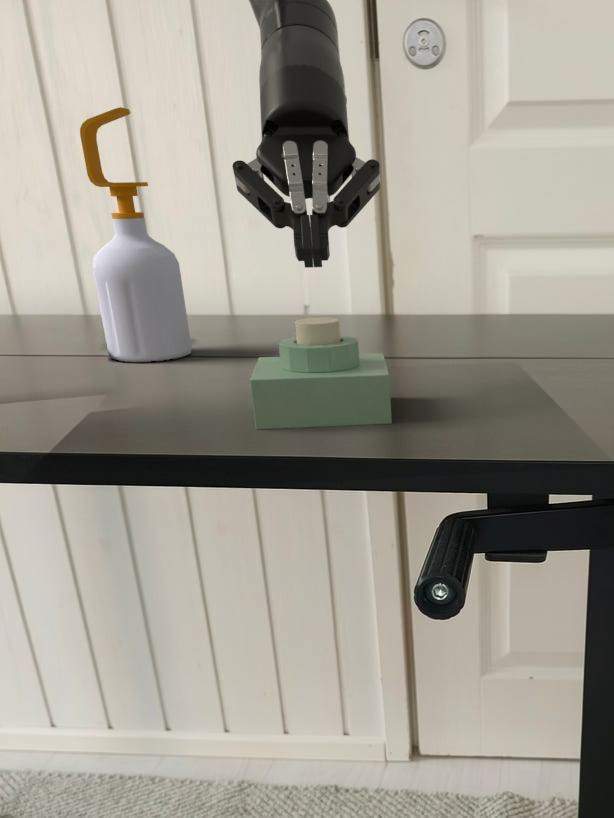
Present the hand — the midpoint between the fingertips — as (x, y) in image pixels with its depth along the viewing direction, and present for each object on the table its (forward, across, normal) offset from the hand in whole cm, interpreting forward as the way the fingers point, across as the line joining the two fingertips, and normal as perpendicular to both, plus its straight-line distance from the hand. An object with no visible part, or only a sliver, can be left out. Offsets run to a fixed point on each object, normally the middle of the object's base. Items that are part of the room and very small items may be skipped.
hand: (313, 260), depth 76 cm
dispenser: (+10, 0, +7) cm, 12 cm away
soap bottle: (-12, -20, +29) cm, 38 cm away
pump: (+6, 0, +3) cm, 7 cm away
